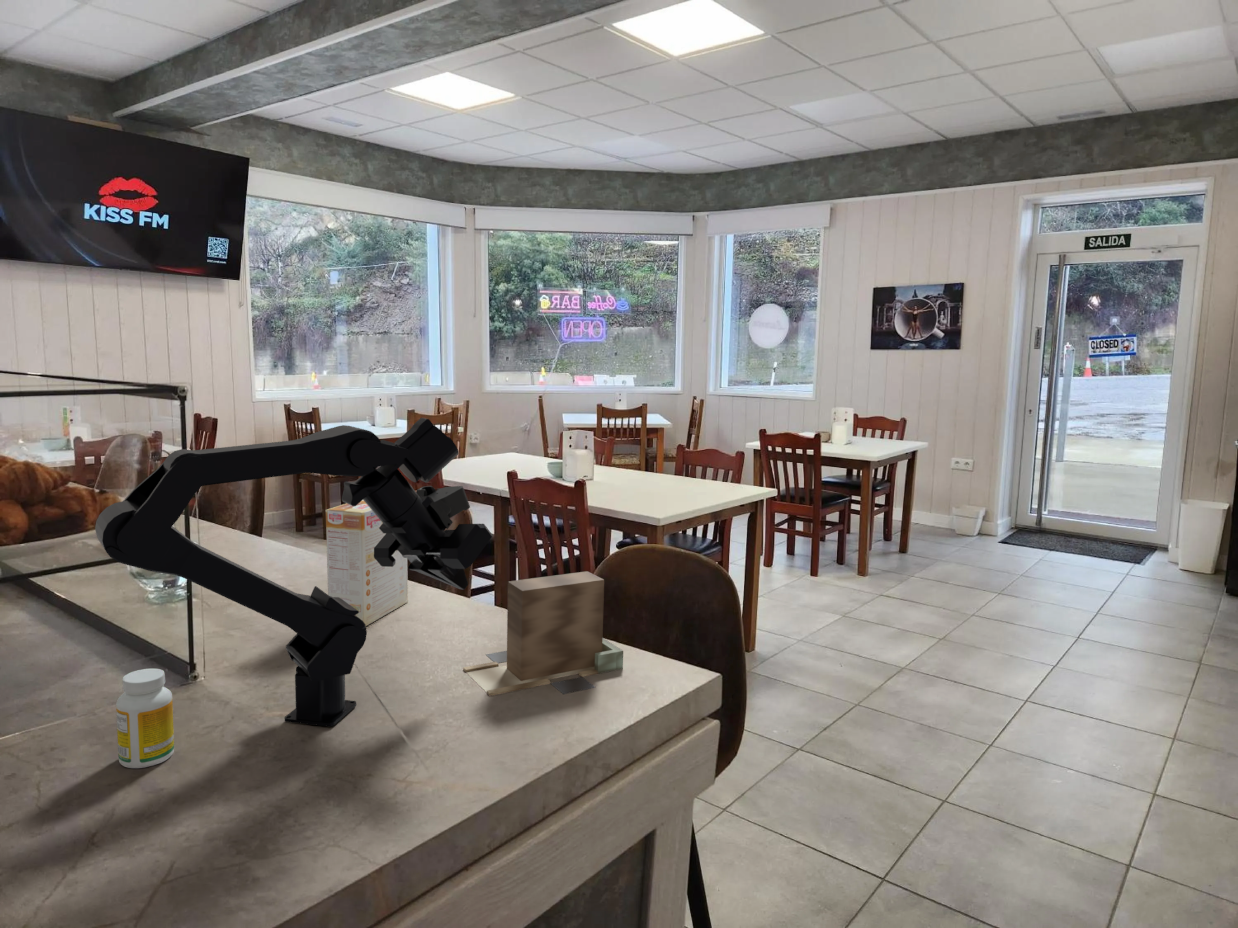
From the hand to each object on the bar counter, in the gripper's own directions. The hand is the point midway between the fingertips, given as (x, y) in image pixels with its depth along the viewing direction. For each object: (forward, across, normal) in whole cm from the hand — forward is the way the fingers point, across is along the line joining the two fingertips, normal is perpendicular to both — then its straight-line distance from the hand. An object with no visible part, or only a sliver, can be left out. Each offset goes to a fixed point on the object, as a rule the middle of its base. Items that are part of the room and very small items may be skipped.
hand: (464, 586), depth 112 cm
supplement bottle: (-13, +11, +38) cm, 41 cm away
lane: (+17, -4, +1) cm, 17 cm away
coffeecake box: (+11, +35, -2) cm, 37 cm away
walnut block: (+18, -5, 0) cm, 18 cm away
